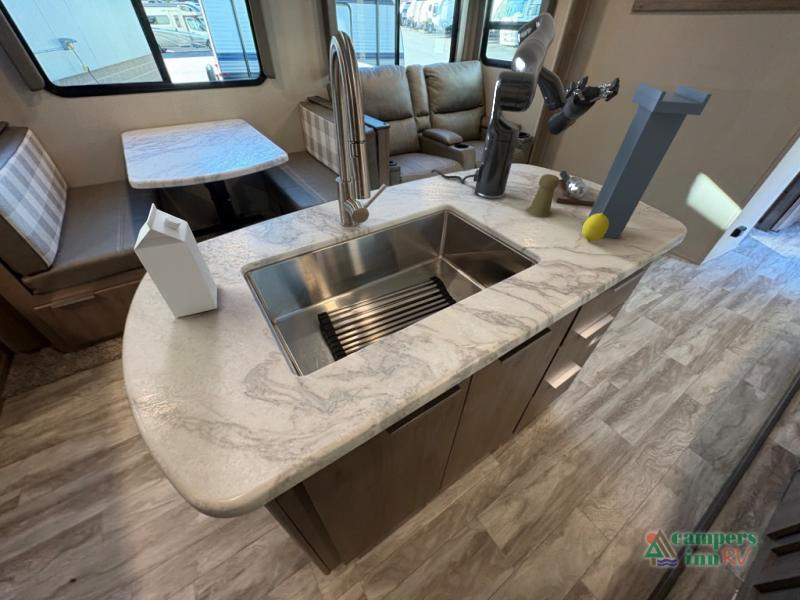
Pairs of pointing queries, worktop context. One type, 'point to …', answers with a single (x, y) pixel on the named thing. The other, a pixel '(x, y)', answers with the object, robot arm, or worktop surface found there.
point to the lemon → (595, 227)
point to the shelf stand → (644, 150)
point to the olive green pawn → (544, 196)
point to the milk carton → (176, 264)
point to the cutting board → (564, 197)
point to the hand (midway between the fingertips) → (602, 80)
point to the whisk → (574, 185)
